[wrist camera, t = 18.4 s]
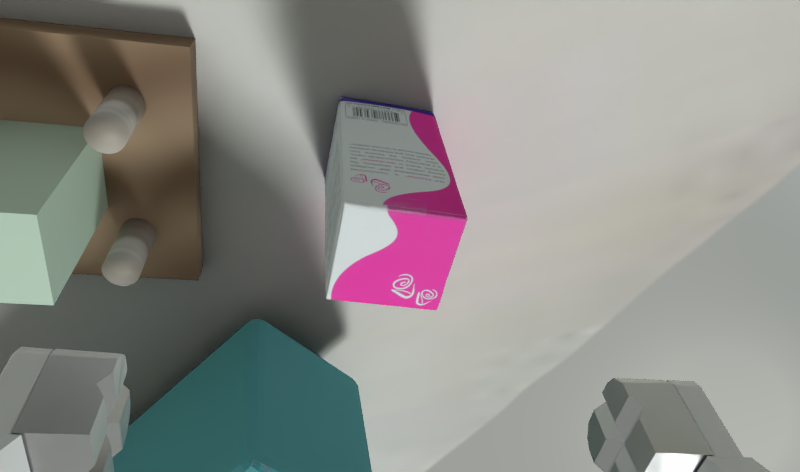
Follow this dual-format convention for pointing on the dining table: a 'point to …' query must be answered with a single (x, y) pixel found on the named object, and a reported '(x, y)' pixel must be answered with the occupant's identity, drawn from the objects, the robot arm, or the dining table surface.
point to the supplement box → (389, 207)
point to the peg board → (153, 146)
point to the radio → (252, 414)
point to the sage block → (45, 207)
